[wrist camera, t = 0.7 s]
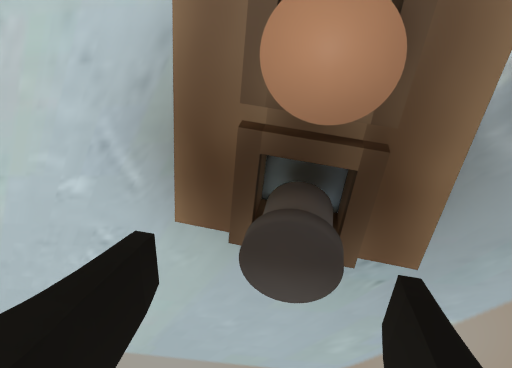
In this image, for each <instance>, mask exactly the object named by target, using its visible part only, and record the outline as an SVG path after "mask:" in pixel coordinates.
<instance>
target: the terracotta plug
mask: <svg viewBox="0 0 512 368" xmlns="http://www.w3.org/2000/svg"><path fill="white" fill-rule="evenodd" d="M406 55H407V37H406V31H405V27H404V24H403V21H402V18H401V16H400V14H399V12H398V10H397V8H396V7H395V5H394V4H393V3H392V1H391V0H282V1H281V2H280V3H279V4H278V5H277V7H276V8H275V9H274V11H273V12H272V14H271V16H270V17H269V19H268V21H267V24H266V26H265V28H264V32H263V35H262V39H261V45H260V66H261V71H262V75H263V78H264V81H265V84H266V86H267V88H268V90H269V92H270V93H271V95H272V96H273V98H274V99H275V100H276V101H277V102H278V104H279V105H280V106H281V107H283V108H284V109H285V110H286V111H287V112H289V113H290V114H292V115H293V116H295V117H297V118H299V119H301V120H303V121H306V122H309V123H313V124H318V125H340V124H345V123H349V122H353V121H355V120H358V119H360V118H362V117H364V116H366V115H368V114H370V113H371V112H372V111H374V110H375V109H377V108H378V107H379V106H380V105H381V104H382V103H383V102H384V101H385V100H386V99H387V98H388V97H389V96H390V94H391V93H392V91H393V90H394V89H395V87H396V85H397V83H398V81H399V79H400V78H401V75H402V72H403V69H404V66H405V61H406Z"/></svg>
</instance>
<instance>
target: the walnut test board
mask: <svg viewBox="0 0 512 368" xmlns="http://www.w3.org/2000/svg"><path fill="white" fill-rule="evenodd" d="M281 1H282V0H172V5H173V93H174V180H175V222H180V223H185V224H190V225H195V226H200V227H205V228H210V229H215V230H220V231H225V232H229V243H231V244H236V245H241V246H242V243H243V240H244V237H245V234H246V231H247V230H248V228H249V226H250V225H251V224H252V222H254V221H255V220H256V219H257V218H258V217H260V216H261V215H263V212H264V209H265V206H266V203H267V200H265V199H261V197H262V189H263V182H264V174H265V166H266V158H267V155H270V156H276V157H281V158H287V159H293V160H299V161H304V162H310V163H316V164H321V165H327V166H333V167H339V168H344V169H349V170H348V174H347V178H346V182H345V186H344V190H343V193H342V197H341V201H340V205H339V209H338V213H334V212H333V228H334V229H335V230H336V232H337V233H338V234H339V236H340V238H341V241H342V244H343V250H344V266H345V267H350V268H354V267H355V264H356V261H357V258H361V259H366V260H371V261H376V262H381V263H386V264H391V265H396V266H401V267H406V268H411V269H416V270H418V268H419V265H420V263H421V261H422V258H423V256H424V254H425V251H426V249H427V247H428V244H429V242H430V240H431V237H432V235H433V233H434V230H435V228H436V226H437V223H438V221H439V218H440V216H441V214H442V211H443V209H444V207H445V204H446V202H447V200H448V197H449V195H450V193H451V190H452V188H453V186H454V183H455V181H456V179H457V176H458V174H459V172H460V169H461V167H462V165H463V162H464V160H465V158H466V155H467V153H468V151H469V148H470V146H471V144H472V141H473V139H474V137H475V134H476V132H477V130H478V127H479V125H480V123H481V120H482V118H483V116H484V113H485V111H486V109H487V106H488V104H489V102H490V99H491V97H492V95H493V92H494V90H495V88H496V85H497V83H498V81H499V78H500V76H501V74H502V71H503V69H504V67H505V64H506V62H507V60H508V57H509V55H510V53H511V50H512V0H392V3H393V4H394V5H395V7H396V8H397V10H398V12H399V14H400V16H401V18H402V21H403V24H404V27H405V31H406V37H407V55H406V61H405V66H404V69H403V72H402V75H401V78H400V79H399V81H398V83H397V85H396V87H395V89H394V90H393V91H392V93H391V94H390V96H389V97H388V98H387V99H386V100H385V101H384V102H383V103H382V104H381V105H380V106H379V107H378V108H377V109H375V110H374V111H372V112H371V113H370V114H368V115H366V116H364V117H362V118H360V119H358V120H355V121H353V122H349V123H345V124H340V125H318V124H313V123H309V122H306V121H303V120H301V119H299V118H297V117H295V116H293V115H292V114H290V113H289V112H287V111H286V110H285V109H284V108H283V107H281V106H280V105H279V104H278V102H277V101H276V100H275V99H274V98H273V96H272V95H271V93H270V92H269V90H268V88H267V86H266V84H265V81H264V78H263V75H262V71H261V66H260V45H261V39H262V35H263V32H264V28H265V26H266V24H267V21H268V19H269V17H270V16H271V14H272V12H273V11H274V9H275V8H276V7H277V5H278V4H279V3H280V2H281Z"/></svg>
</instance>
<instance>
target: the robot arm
mask: <svg viewBox="0 0 512 368" xmlns="http://www.w3.org/2000/svg"><path fill="white" fill-rule="evenodd" d="M158 285H159V276H158V266H157V256H156V246H155V236H154V234H152V233H146V232H140V231H134V232H133V233H131V234H130V235H128V236H127V237H125V238H124V239H122V240H121V241H119V242H118V243H116V244H115V245H114V246H112V247H111V248H109V249H108V250H106V251H105V252H103V253H102V254H101V255H99V256H98V257H96V258H95V259H93V260H92V261H90V262H89V263H87V264H86V265H84V266H83V267H81V268H80V269H78V270H77V271H75V272H73V273H72V274H70V275H68V276H67V277H65V278H63V279H62V280H60V281H59V282H57V283H55V284H54V285H52V286H50V287H49V288H47V289H45V290H44V291H42V292H40V293H39V294H37V295H35V296H33V297H32V298H30V299H28V300H26V301H24V302H22V303H20V304H18V305H16V306H15V307H13V308H11V309H9V310H7V311H5V312H3V313H1V314H0V368H116V366H117V364H118V362H119V361H120V359H121V357H122V355H123V354H124V352H125V350H126V349H127V347H128V345H129V343H130V342H131V340H132V338H133V337H134V335H135V333H136V331H137V329H138V328H139V326H140V324H141V322H142V321H143V319H144V317H145V315H146V313H147V311H148V309H149V307H150V304H151V302H152V300H153V297H154V295H155V292H156V290H157V287H158ZM382 345H383V362H384V368H483V367H482V366H481V365H480V363H479V362H478V361H477V360H476V358H475V357H474V355H473V354H472V353H471V351H470V350H469V349H468V347H467V346H466V345H465V343H464V342H463V340H462V339H461V337H460V336H459V335H458V333H457V332H456V330H455V329H454V327H453V326H452V325H451V323H450V322H449V320H448V319H447V317H446V316H445V314H444V313H443V311H442V310H441V308H440V307H439V305H438V304H437V302H436V300H435V299H434V297H433V296H432V294H431V293H430V291H429V290H428V288H427V287H426V285H425V283H424V282H423V281H422V279H420V278H414V277H408V276H402V275H398V278H397V281H396V284H395V287H394V290H393V293H392V296H391V299H390V302H389V305H388V308H387V311H386V314H385V317H384V320H383V323H382Z"/></svg>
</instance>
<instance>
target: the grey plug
mask: <svg viewBox="0 0 512 368" xmlns="http://www.w3.org/2000/svg"><path fill="white" fill-rule="evenodd" d="M239 263H240V267H241V270H242V273H243V275H244V276H245V278H246V279H247V281H248V282H249V283H250V284H251V285H252V286H253V287H254V288H255V289H257V290H258V291H259V292H261V293H262V294H264V295H266V296H268V297H270V298H273V299H275V300H279V301H283V302H288V303H307V302H312V301H316V300H319V299H321V298H323V297H325V296H327V295H328V294H330V293H331V292H332V291H333V290H334V289H335V288H336V287H337V286H338V284H339V283H340V281H341V279H342V276H343V271H344V250H343V244H342V241H341V238H340V236H339V234H338V233H337V232H336V230H335V229H334V228H333V206H332V203H331V200H330V198H329V197H328V196H327V194H326V193H325V192H324V191H323V190H321V189H320V188H319V187H317V186H315V185H313V184H310V183H306V182H299V181H295V182H288V183H285V184H282V185H280V186H279V187H277V188H276V189H275V190H273V191H272V193H271V194H270V195H269V197H268V200H267V203H266V206H265V209H264V212H263V215H261V216H260V217H258V218H257V219H256V220H255V221H254V222H252V224H251V225H250V226H249V228H248V230H247V231H246V234H245V237H244V240H243V243H242V246H241V248H240V253H239Z"/></svg>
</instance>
